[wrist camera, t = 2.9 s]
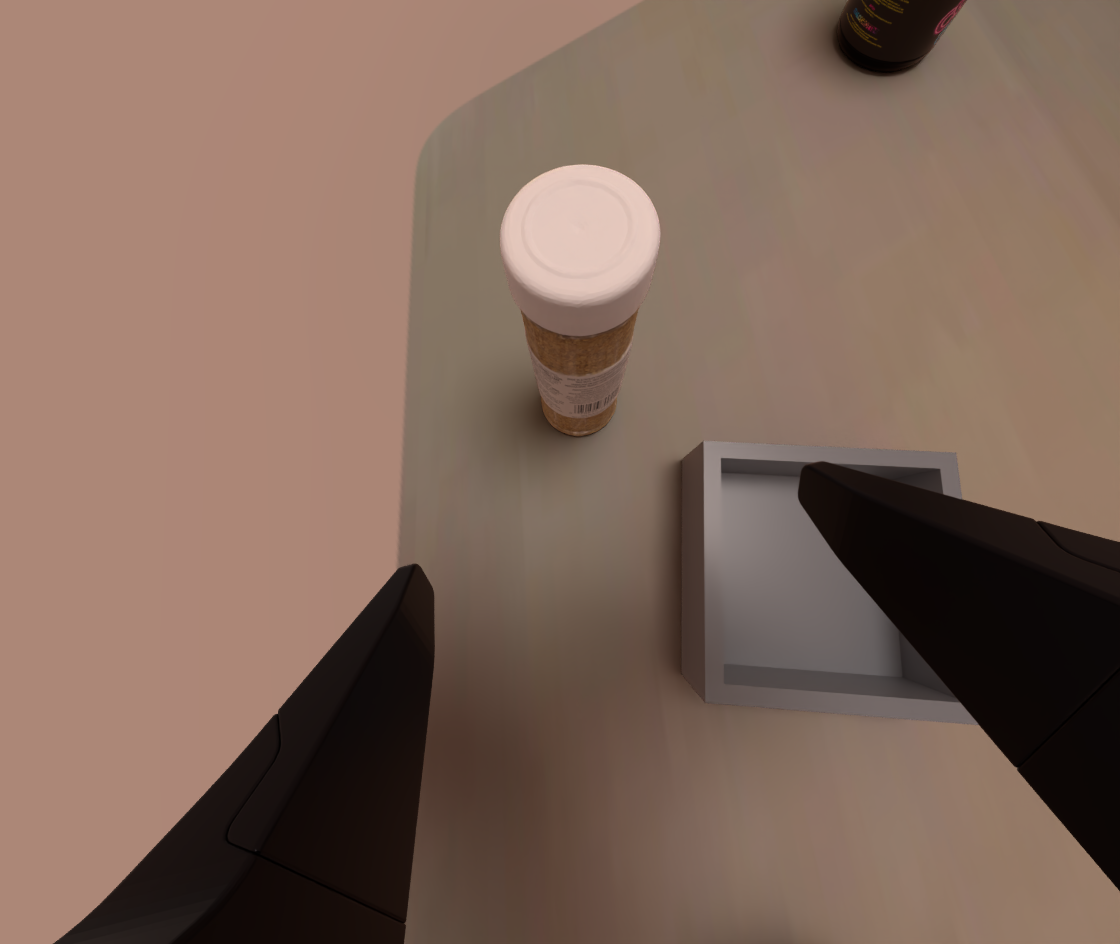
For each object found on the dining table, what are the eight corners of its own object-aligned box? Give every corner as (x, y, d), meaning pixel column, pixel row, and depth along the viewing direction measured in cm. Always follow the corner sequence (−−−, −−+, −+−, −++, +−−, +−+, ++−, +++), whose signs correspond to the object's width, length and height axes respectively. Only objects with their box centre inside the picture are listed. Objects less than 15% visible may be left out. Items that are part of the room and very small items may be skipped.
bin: (890, 469, 23) (956, 452, 19) (911, 691, 20) (991, 726, 16) (682, 459, 23) (703, 440, 19) (681, 674, 21) (705, 702, 17)
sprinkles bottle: (608, 361, 24) (645, 142, 11) (622, 432, 24) (680, 284, 10) (535, 374, 25) (486, 170, 11) (546, 444, 24) (508, 313, 10)
